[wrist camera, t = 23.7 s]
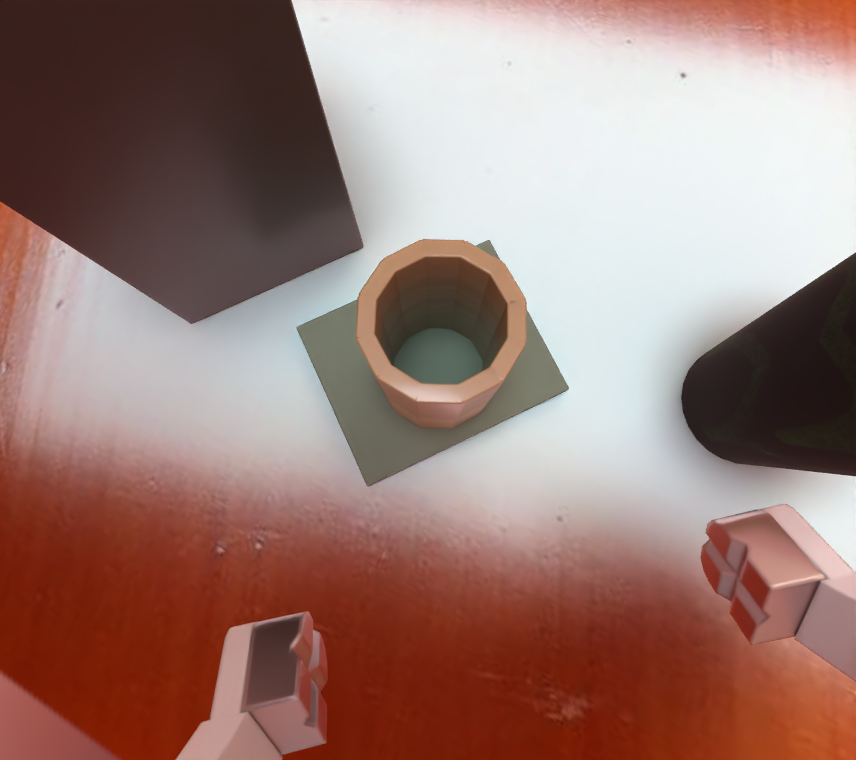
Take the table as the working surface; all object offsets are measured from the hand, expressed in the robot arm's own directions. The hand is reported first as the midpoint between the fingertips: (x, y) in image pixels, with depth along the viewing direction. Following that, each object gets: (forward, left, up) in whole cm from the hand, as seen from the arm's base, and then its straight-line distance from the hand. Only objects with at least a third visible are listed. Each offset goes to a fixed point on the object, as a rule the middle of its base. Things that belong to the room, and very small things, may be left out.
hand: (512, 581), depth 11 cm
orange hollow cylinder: (+2, +7, -12) cm, 14 cm away
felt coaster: (+2, +7, -13) cm, 15 cm away
